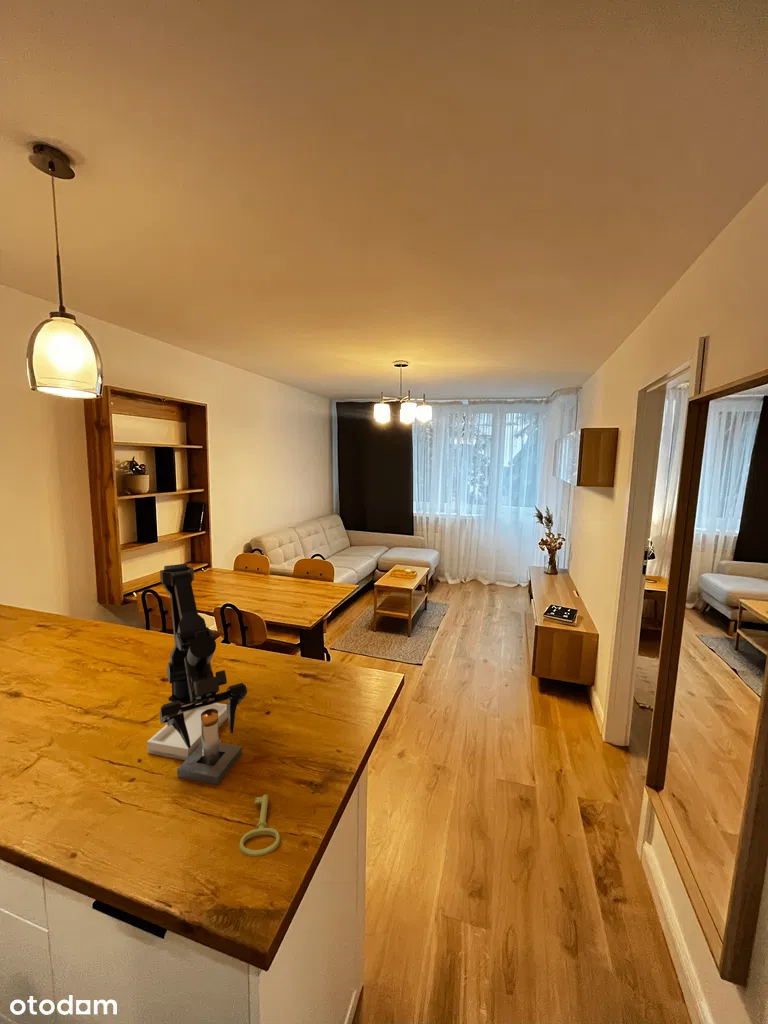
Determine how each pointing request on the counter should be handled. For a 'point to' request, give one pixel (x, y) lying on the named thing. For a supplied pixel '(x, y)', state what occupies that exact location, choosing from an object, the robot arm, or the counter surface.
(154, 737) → the parts tray
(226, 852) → the counter surface
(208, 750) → the pin
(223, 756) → the grey flat square frame
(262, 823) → the key
